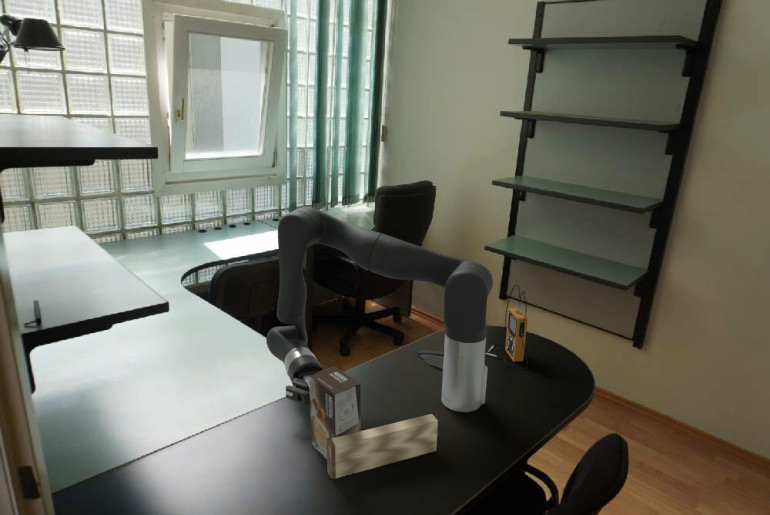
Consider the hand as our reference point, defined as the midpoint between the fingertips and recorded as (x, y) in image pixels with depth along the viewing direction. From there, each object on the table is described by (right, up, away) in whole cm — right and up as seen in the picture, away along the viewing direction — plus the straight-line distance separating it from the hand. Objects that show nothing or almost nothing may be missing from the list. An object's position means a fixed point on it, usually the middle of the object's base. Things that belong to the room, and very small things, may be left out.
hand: (325, 407), depth 106 cm
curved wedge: (+28, +2, +33) cm, 44 cm away
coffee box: (+2, -8, -3) cm, 9 cm away
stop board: (+12, -9, -5) cm, 16 cm away
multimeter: (+44, +3, +36) cm, 58 cm away
